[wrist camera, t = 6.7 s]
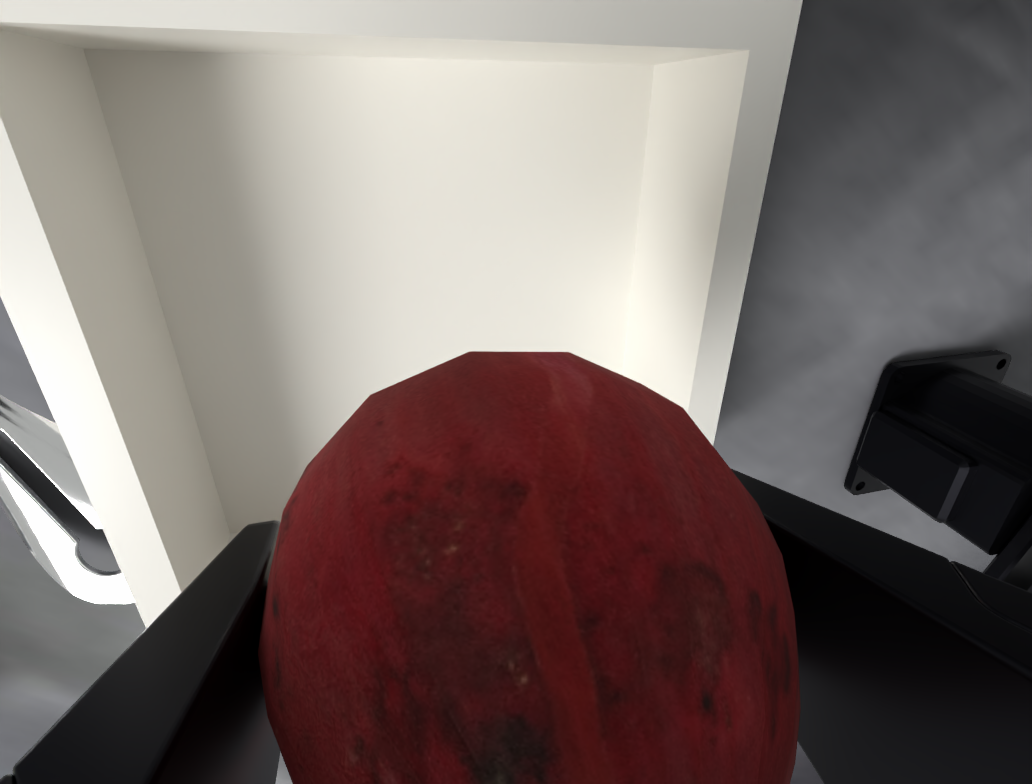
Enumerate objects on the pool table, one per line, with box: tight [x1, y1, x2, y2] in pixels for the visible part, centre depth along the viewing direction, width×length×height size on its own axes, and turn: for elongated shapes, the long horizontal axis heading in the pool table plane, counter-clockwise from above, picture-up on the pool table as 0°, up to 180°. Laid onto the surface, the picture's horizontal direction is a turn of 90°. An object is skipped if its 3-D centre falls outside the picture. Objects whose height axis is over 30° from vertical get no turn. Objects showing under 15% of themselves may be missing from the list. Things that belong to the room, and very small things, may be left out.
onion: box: [258, 351, 801, 784], centre depth 6 cm, size 6×6×8 cm
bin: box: [0, 0, 803, 629], centre depth 14 cm, size 15×15×5 cm
